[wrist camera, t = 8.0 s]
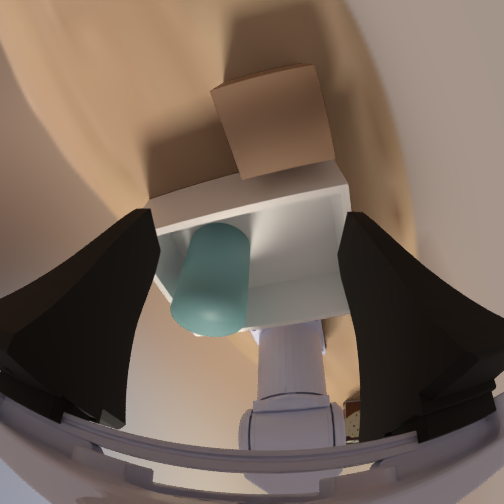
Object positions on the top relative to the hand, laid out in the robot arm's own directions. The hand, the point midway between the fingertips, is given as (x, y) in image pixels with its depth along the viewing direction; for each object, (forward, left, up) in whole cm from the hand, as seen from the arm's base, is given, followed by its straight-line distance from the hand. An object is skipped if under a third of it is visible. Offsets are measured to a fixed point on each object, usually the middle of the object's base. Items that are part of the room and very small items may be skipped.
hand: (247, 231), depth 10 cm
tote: (-7, +2, -10) cm, 13 cm away
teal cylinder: (-7, +5, -10) cm, 13 cm away
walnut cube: (+2, -2, -10) cm, 11 cm away
